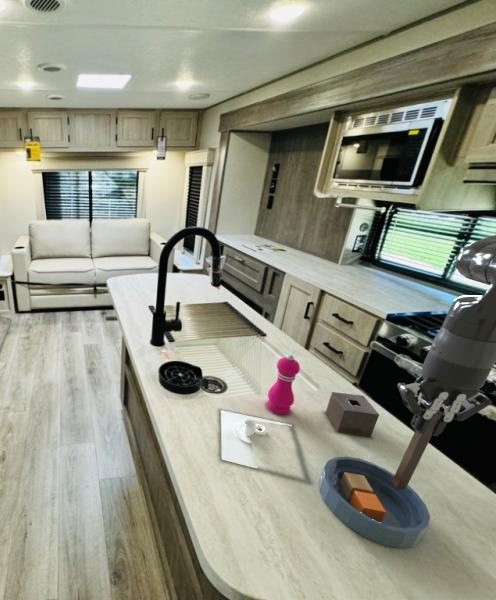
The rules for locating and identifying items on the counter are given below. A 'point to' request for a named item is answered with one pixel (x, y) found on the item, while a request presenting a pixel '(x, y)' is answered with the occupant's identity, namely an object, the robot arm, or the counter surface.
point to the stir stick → (414, 453)
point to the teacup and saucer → (240, 437)
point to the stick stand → (351, 414)
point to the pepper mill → (283, 386)
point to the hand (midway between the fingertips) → (424, 431)
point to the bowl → (397, 502)
